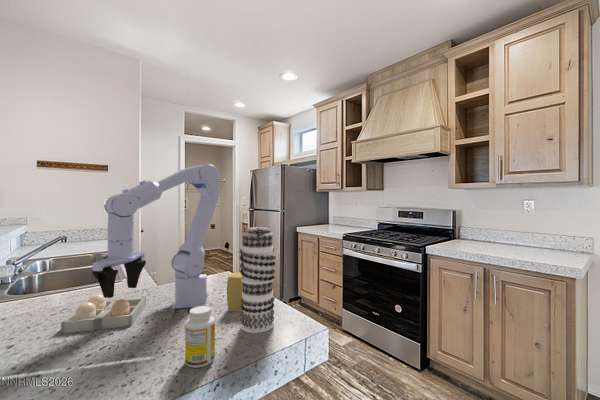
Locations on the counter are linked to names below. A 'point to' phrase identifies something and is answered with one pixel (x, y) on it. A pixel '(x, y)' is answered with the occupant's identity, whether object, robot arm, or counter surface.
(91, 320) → the carton
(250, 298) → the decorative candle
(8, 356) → the counter surface
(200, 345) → the supplement bottle
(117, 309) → the egg
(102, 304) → the pale egg
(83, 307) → the pale egg
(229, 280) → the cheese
